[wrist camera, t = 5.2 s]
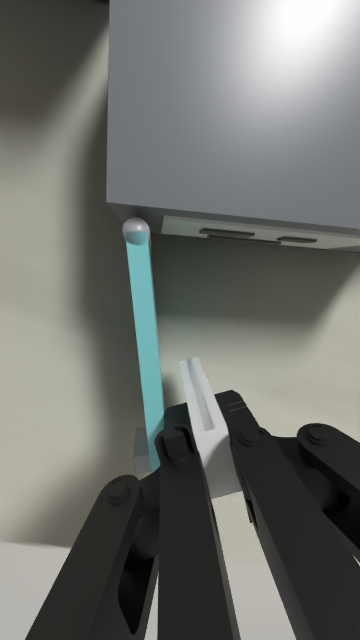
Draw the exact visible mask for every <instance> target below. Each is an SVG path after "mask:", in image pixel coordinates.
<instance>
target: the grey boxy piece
mask: <svg viewBox="0 0 360 640" xmlns="http://www.w3.org/2000/svg"><path fill="white" fill-rule="evenodd" d="M106 203H107V204H108V205H109V207H110V208H111V209H112V211H113V212H114V213H115V215H116V216H117V217H118V219H119V220H120V221H121V223H122V224H123V225H124V223H125V222H126V221H127V220H128V219H130V218H133V217H138V218H141V219H143V220H144V221H145V222H146V223H147V224H148V226H149V230H150V233H157V234H168V235H179V236H189V237H200V238H208V239H219V240H229V241H240V242H251V243H261V244H272V245H285V246H296V247H307V248H317V249H328V250H339V251H349V252H360V0H110V8H109V65H108V122H107V179H106Z"/></svg>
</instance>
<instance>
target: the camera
mask: <svg viewBox="0 0 360 640" xmlns="http://www.w3.org/2000/svg"><path fill="white" fill-rule="evenodd" d="M95 1H97V2H102V3H106V2H110V0H95Z"/></svg>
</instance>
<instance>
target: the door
mask: <svg viewBox="0 0 360 640" xmlns="http://www.w3.org/2000/svg"><path fill="white" fill-rule="evenodd" d="M122 233H123V237H124V239H125V240H126V245H127V255H128V264H129V273H130V283H131V292H132V301H133V310H134V320H135V329H136V338H137V347H138V357H139V366H140V375H141V385H142V394H143V403H144V412H145V422H146V428H137V430H136V439H135V447H134V456H133V458H134V466H135V473H141V472H148V471H151V473H153V472H154V471H155V470H156V469H157V468H158V467H159V466H160V460H159V457H158V454H157V451H156V447H155V444H154V441H155V437H156V436H157V435H158V433H159V432H160V431H162V430H163V429H164V419H163V416H164V413H165V409H164V398H163V386H162V375H161V364H160V352H159V341H158V330H157V319H156V307H155V296H154V285H153V273H152V262H151V251H150V250H151V247H152V244H151V237H150V230H149V226H148V224H147V223H146V222H145V221H144V220H143V219H141V218H138V217H133V218H130V219H128V220H127V221H126V222H125V223H124V225H123V228H122Z"/></svg>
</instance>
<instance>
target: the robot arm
mask: <svg viewBox="0 0 360 640" xmlns="http://www.w3.org/2000/svg"><path fill="white" fill-rule="evenodd" d="M179 364H180V369H181V374H182V379H183V384H184V389H185V394H186V400H187V403H183V404H179V405H176V406H172V407H168V408H167V410H166V411H165V413H164V416H163V419H164V429H163V430H162V431H160V432H159V433H158V435H157V436H156V437H155V441H154V444H155V447H156V451H157V454H158V457H159V460H160V466H159V467H158V468H157V469H156V470H155V471H154V472H153V473H151V474H150V475H148V476H147V477H145V478H143V479H141V480H140V481H139V480H138V479H137V478H136V477H135V476H133V475H123V476H119V477H117V478H115V479H113V480H112V481H110V482H109V483H108V484H107V485H106V486H105V487H104V488H103V490H102V491H101V493H100V494H99V496H98V498H97V500H96V502H95V504H94V506H93V508H92V510H91V512H90V514H89V516H88V518H87V520H86V522H85V523H84V525H83V527H82V529H81V531H80V533H79V535H78V537H77V539H76V541H75V543H74V545H73V547H72V549H71V551H70V553H69V555H68V557H67V559H66V561H65V563H64V564H63V567H62V569H61V570H60V572H59V574H58V576H57V578H56V580H55V582H54V584H53V586H52V588H51V590H50V592H49V594H48V596H47V598H46V600H45V601H44V603H43V606H42V608H41V609H40V611H39V613H38V615H37V617H36V619H35V621H34V623H33V625H32V627H31V629H30V631H29V633H28V635H27V637H26V639H25V640H144V638H145V634H146V629H147V624H148V619H149V614H150V609H151V605H152V600H153V595H154V590H155V585H156V580H157V575H158V571H159V575H158V637H157V640H241V639H240V634H239V629H238V624H237V619H236V615H235V610H234V605H233V600H232V595H231V590H230V585H229V580H228V575H227V571H226V566H225V561H224V556H223V551H222V546H221V541H220V537H219V532H218V527H217V522H216V517H215V513H214V509H213V505H212V501H211V499H214V498H217V497H221V496H225V495H228V494H232V493H235V492H239V491H243V494H244V498H245V503H246V507H247V511H248V516H249V520H250V523H252V522H253V525H254V528H255V530H256V533H257V536H258V538H259V541H260V544H261V546H262V549H263V552H264V554H265V557H266V560H267V562H268V565H269V568H270V570H271V573H272V576H273V578H274V581H275V584H276V586H277V589H278V592H279V594H280V597H281V600H282V602H283V605H284V608H285V610H286V613H287V615H288V618H289V621H290V623H291V626H292V629H293V631H294V634H295V637H296V639H297V640H360V566H359V564H358V563H357V561H356V560H355V558H356V559H357V560H358V561H359V562H360V443H359V442H358V441H356V440H354V439H353V438H351V437H349V436H348V435H346V434H344V433H343V432H341V431H339V430H338V429H336V428H334V427H332V426H329V425H326V424H321V423H311V424H307V425H304V426H303V427H301V428H300V429H299V430H298V433H297V437H276V436H272V435H270V433H269V432H268V431H267V430H266V429H264V428H261V427H260V426H259V425H258V423H257V421H256V420H255V418H254V417H253V415H252V413H251V412H250V410H249V409H248V407H247V405H246V404H245V402H244V400H243V399H242V397H241V396H240V394H239V393H237V392H235V391H233V390H229V391H225V392H222V393H218V394H213V392H212V389H211V387H210V384H209V382H208V380H207V377H206V375H205V372H204V370H203V368H202V365H201V363H200V360H199V358H198V357H194V358H191V359H187V360H183V361H179ZM240 485H241V486H240ZM241 488H242V490H241ZM353 556H354V557H355V558H354V557H353Z"/></svg>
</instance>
